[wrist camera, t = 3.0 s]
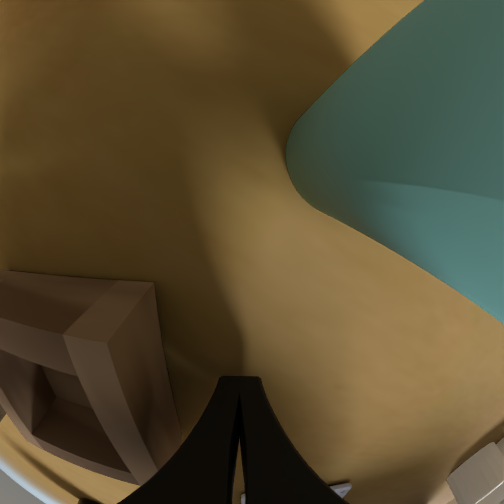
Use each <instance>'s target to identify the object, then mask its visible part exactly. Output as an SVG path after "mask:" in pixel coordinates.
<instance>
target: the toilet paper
mask: <svg viewBox="0 0 504 504" xmlns="http://www.w3.org/2000/svg"><path fill="white" fill-rule="evenodd" d="M446 481H447V483H448V485H449V487H450V489H451V491H452V493H453V495H454V497H455V499H456V501H457V503H458V504H476V503H478V502H479V501H480V500H481V499H483V498H484V497H485V496H487V495H488V494H490V493H491V492H492V491H493V490H494V489H496V488H497V487H498V486H499V485H501V484H502V483H503V482H504V437H503V438H502V439H501V440H500V441H499V442H498V443H497V444H495V443H494V442H491V443H489V444H488V445H486V446H485V447H483V448H482V449H480V450H479V451H478V452H477V453H475V454H474V455H473V456H471V457H470V458H469V459H468V460H466V461H465V462H464V463H463V464H462V465H460V466H459V467H458V468H457V469H456V470H455V471H453V472H452V473H451V474H450V475H449V476H448V477H447V479H446Z"/></svg>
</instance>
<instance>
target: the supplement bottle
mask: <svg viewBox="0 0 504 504" xmlns="http://www.w3.org/2000/svg"><path fill="white" fill-rule="evenodd" d="M78 504H99V503H96V502H93V501H91V500H87V499H80V500H79V501H78Z"/></svg>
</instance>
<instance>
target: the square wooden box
mask: <svg viewBox="0 0 504 504" xmlns="http://www.w3.org/2000/svg"><path fill="white" fill-rule="evenodd" d="M0 404H1V406H2V407H3V409H4V410H5V412H6V413H7V415H8V416H9V418H10V419H11V420H12V422H13V423H14V425H15V426H16V427H17V429H18V430H19V431H20V433H21V434H22V435H23V437H24V438H25V439H26V440H27V441H28V442H30V443H32V444H33V445H35V446H37V447H39V448H41V449H43V450H45V451H47V452H49V453H51V454H53V455H55V456H57V457H59V458H61V459H64V460H66V461H68V462H71V463H73V464H75V465H78V466H80V467H83V468H85V469H88V470H91V471H93V472H96V473H99V474H102V475H105V476H108V477H111V478H114V479H118V480H121V481H125V482H128V483H132V484H136V485H140V486H142V485H143V484H144V483H146V482H147V481H148V480H149V479H150V478H151V477H152V476H153V475H154V474H156V473H157V472H158V471H159V470H160V469H161V468H162V467H163V466H164V464H165V463H166V462H167V461H168V460H169V459H170V458H171V457H172V456H173V455H174V453H175V452H176V451H177V450H178V449H179V446H180V441H181V436H182V431H181V428H180V424H179V420H178V416H177V412H176V408H175V404H174V400H173V395H172V391H171V386H170V381H169V377H168V372H167V367H166V361H165V356H164V350H163V344H162V338H161V332H160V326H159V319H158V312H157V304H156V296H155V287H154V282H140V281H123V280H108V279H94V278H81V277H68V276H57V275H46V274H36V273H27V272H17V271H8V270H2V271H1V272H0Z"/></svg>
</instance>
